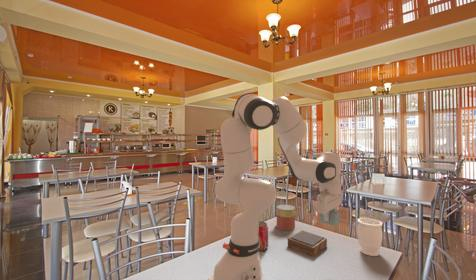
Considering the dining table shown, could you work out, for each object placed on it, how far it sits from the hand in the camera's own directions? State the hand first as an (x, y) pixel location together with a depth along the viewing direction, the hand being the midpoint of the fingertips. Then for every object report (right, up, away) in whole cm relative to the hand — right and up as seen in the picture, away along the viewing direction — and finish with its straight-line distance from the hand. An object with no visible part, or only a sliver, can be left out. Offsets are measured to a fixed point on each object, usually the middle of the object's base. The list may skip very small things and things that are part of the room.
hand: (329, 218), depth 100 cm
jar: (+23, -19, +8) cm, 31 cm away
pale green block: (0, -2, 0) cm, 2 cm away
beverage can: (-30, -19, +13) cm, 37 cm away
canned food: (-11, -19, +40) cm, 45 cm away
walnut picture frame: (-6, -19, +14) cm, 24 cm away
